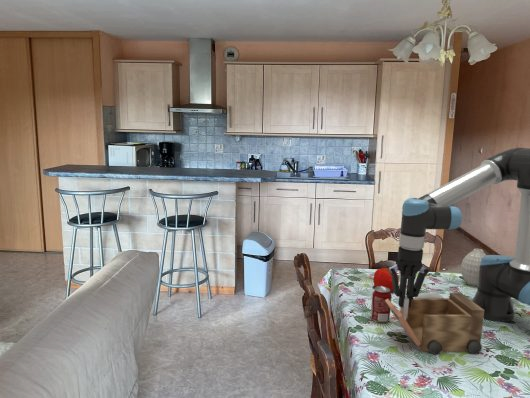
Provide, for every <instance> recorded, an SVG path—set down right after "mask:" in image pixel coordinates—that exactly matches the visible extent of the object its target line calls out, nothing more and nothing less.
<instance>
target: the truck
mask: <svg viewBox="0 0 530 398" xmlns="http://www.w3.org/2000/svg"><path fill="white" fill-rule="evenodd" d="M484 319H485V318H484V309H482V308H481V307H479V306H478V305H477V304H475V303H474V302H473V301H472V300H471V299H470V298H468V297H467V296H466V295H465V294H463V293H462V292H449V297H447V298H445V297H443V298H415V297H413V300H412V301H411V307H410V308H409V307H408V314H407V318H405V320H406V321H407V323H408V324H409V326H410V328H411V329H412V331H413V332H414V334H415V335H416V337H417V339H418V340H419V342H420V343H421V344H420V345H419V346H417V344H416V343H415V342H414V344H415V345H416V346H417V347H418V348H419V350H420V351H421V352H430V353H431V354H432V355H438V354H440V353H441V352H470V353H471V354H474V355H476V354H477V355H478V354H479V353H481V351H482V349H483V346H482V344H481V341H482V333H483V327H484V326H483V325H484ZM404 331H405V330H404ZM405 333H406V334H407V332H406V331H405ZM409 338H410V339H411V340H412V338H411V337H410V336H409Z"/></svg>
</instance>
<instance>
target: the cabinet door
mask: <svg viewBox="0 0 530 398" xmlns="http://www.w3.org/2000/svg"><path fill="white" fill-rule="evenodd" d="M385 302H386V303H387V305H388V306H389V308H390V312H391V313H392V314H393V316H394V317H395V319H396V320H397V322H398V324H399V325H400V326H401V328H402V329H403V331H406V332H407V333H406V332H405V333H406V334H407V335H408V336H409V338H410V337H411V338H412V339H411V338H410V339H411V340H412V341H413V342H414V344H415V343H416V344H417V345H416V344H415V345H416V346H417V347H418V346H419V345H420V344H421V343H420V342H419V340H418V339H417V337H416V335H415V334H414V332H413V331H412V329H411V328H410V326H409V324H408V323H407V321H406V318H404V317H403V315H402V314H401V313H400V310H398V308H397V307H396V306H395V305H394V304H393V302H392V301H391V302H390V301H389V299H386V300H385Z"/></svg>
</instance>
